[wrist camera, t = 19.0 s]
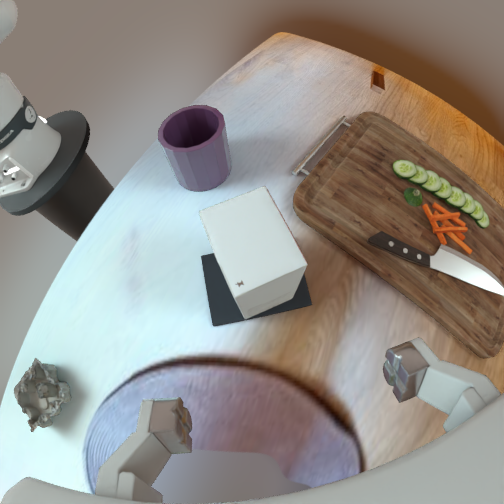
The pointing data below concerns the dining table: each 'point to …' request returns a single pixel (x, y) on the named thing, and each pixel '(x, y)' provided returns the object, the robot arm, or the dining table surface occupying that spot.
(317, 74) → the dining table surface
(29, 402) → the egg carton
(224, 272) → the small box
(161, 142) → the plum cup
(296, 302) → the coaster pad
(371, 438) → the dining table surface
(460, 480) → the robot arm
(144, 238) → the dining table surface
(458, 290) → the chopping board
